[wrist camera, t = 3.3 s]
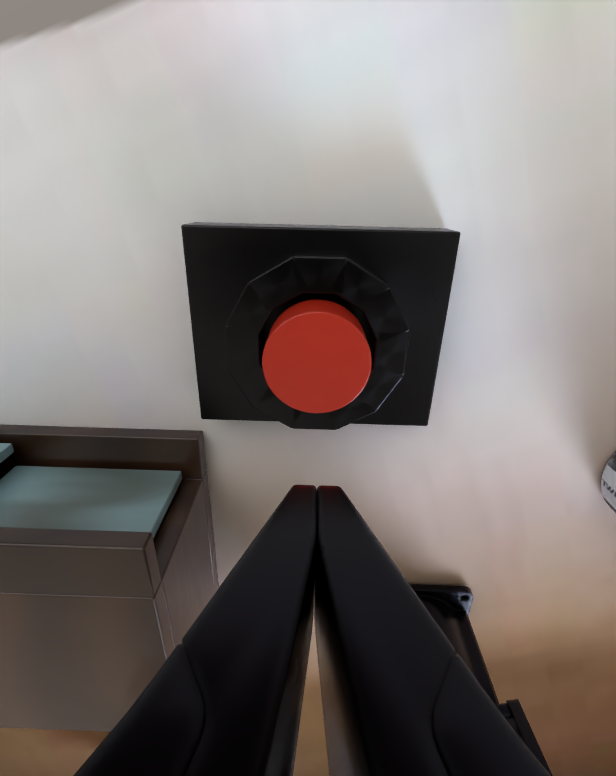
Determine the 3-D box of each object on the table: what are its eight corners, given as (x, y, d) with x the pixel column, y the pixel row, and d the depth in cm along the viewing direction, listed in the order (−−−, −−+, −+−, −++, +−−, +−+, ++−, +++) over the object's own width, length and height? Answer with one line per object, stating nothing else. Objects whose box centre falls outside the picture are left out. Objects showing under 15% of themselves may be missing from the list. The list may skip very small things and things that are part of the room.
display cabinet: (202, 430, 20) (143, 549, 13) (219, 589, 25) (182, 735, 18) (-155, 419, 20) (-393, 530, 13) (-70, 579, 25) (-213, 720, 18)
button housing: (447, 228, 16) (479, 236, 13) (419, 408, 19) (438, 449, 16) (193, 222, 16) (162, 228, 13) (210, 402, 19) (189, 441, 16)
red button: (370, 300, 14) (376, 313, 12) (361, 393, 16) (366, 415, 14) (266, 297, 14) (260, 309, 12) (268, 390, 16) (263, 412, 14)
